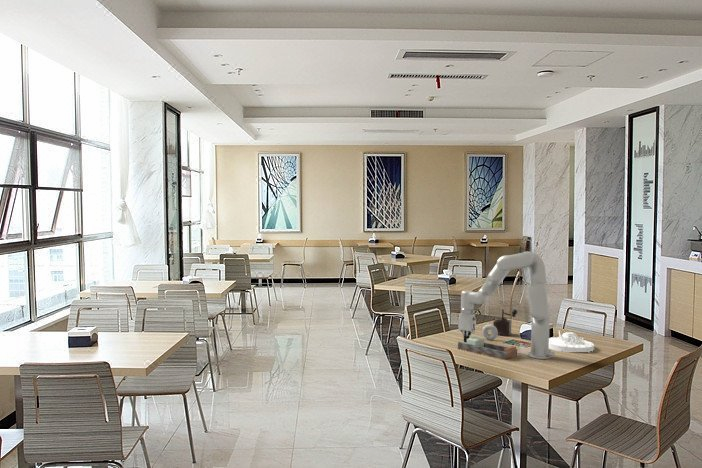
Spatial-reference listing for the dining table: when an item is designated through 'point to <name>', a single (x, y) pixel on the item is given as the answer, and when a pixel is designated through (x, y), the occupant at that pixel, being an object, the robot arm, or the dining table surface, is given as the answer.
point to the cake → (570, 343)
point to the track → (490, 350)
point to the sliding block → (476, 341)
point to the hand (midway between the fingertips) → (466, 342)
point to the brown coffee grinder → (504, 324)
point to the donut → (488, 336)
